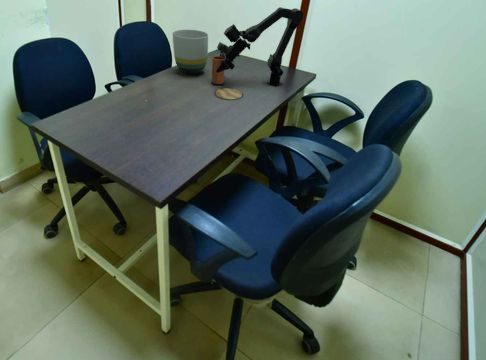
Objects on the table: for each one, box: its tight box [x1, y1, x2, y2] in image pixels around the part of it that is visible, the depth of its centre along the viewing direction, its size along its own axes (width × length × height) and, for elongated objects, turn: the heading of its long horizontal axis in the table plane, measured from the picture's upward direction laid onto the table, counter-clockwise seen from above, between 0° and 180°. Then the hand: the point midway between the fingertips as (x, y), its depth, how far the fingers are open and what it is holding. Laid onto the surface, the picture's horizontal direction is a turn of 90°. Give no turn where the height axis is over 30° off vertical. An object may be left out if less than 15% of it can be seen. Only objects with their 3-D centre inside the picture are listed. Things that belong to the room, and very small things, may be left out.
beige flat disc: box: [215, 87, 243, 101], centre depth 157 cm, size 14×14×1 cm
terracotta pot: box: [211, 55, 225, 85], centre depth 164 cm, size 7×7×13 cm
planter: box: [172, 29, 209, 75], centre depth 172 cm, size 20×20×21 cm
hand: (215, 69), depth 163 cm, fingers closed on terracotta pot, 7 cm apart
